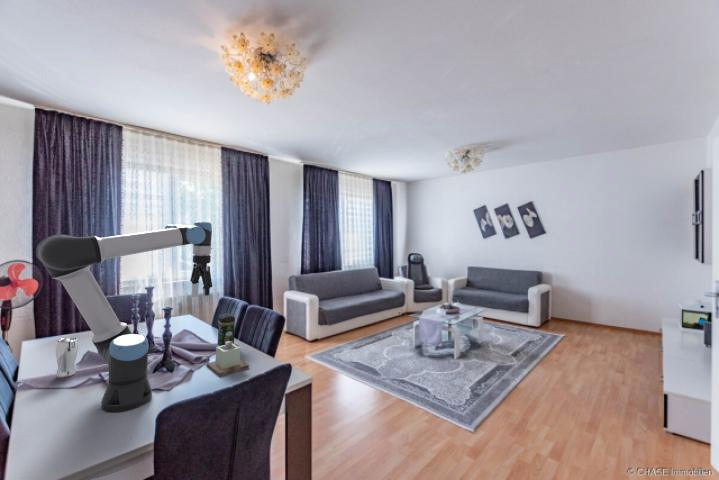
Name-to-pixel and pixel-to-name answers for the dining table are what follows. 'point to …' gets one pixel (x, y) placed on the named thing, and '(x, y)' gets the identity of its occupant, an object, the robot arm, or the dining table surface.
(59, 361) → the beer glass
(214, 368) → the post board
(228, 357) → the collar
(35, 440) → the dining table surface
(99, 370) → the dining table surface
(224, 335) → the coffee jar
